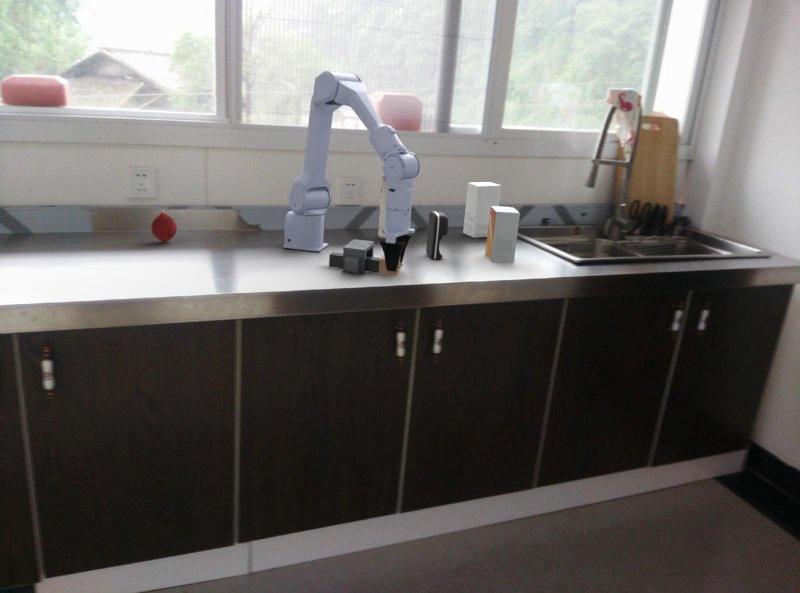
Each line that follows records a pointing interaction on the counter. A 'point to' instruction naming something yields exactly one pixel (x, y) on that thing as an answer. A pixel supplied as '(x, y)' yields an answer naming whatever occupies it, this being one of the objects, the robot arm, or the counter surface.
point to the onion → (164, 227)
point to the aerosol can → (382, 209)
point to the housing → (356, 256)
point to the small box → (502, 234)
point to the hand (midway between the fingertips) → (394, 267)
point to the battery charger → (436, 233)
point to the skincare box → (480, 207)
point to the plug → (371, 264)
